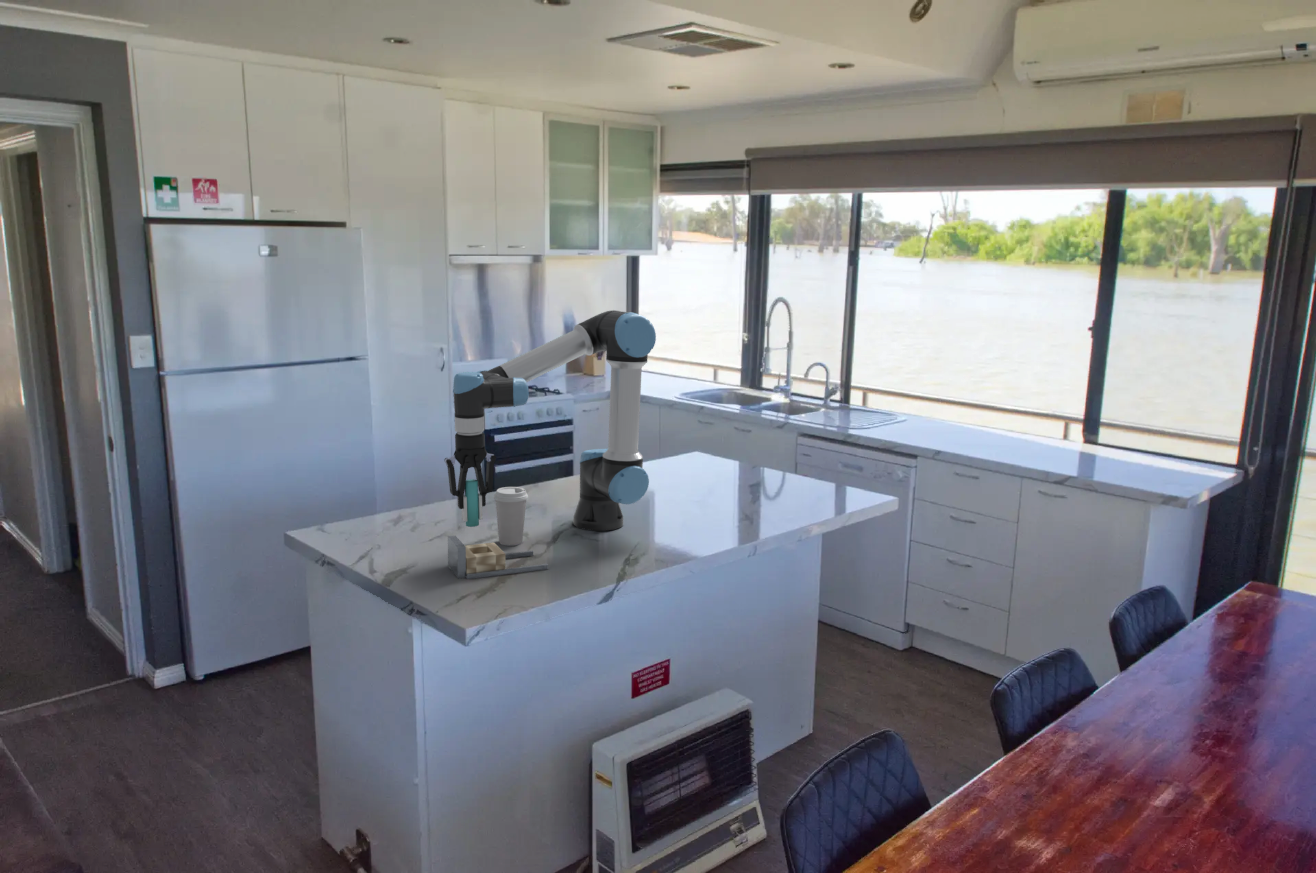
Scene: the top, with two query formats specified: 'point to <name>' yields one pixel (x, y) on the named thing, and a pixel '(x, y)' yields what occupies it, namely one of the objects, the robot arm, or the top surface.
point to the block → (484, 558)
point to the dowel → (472, 502)
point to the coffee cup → (510, 514)
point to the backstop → (459, 569)
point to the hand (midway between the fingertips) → (472, 519)
